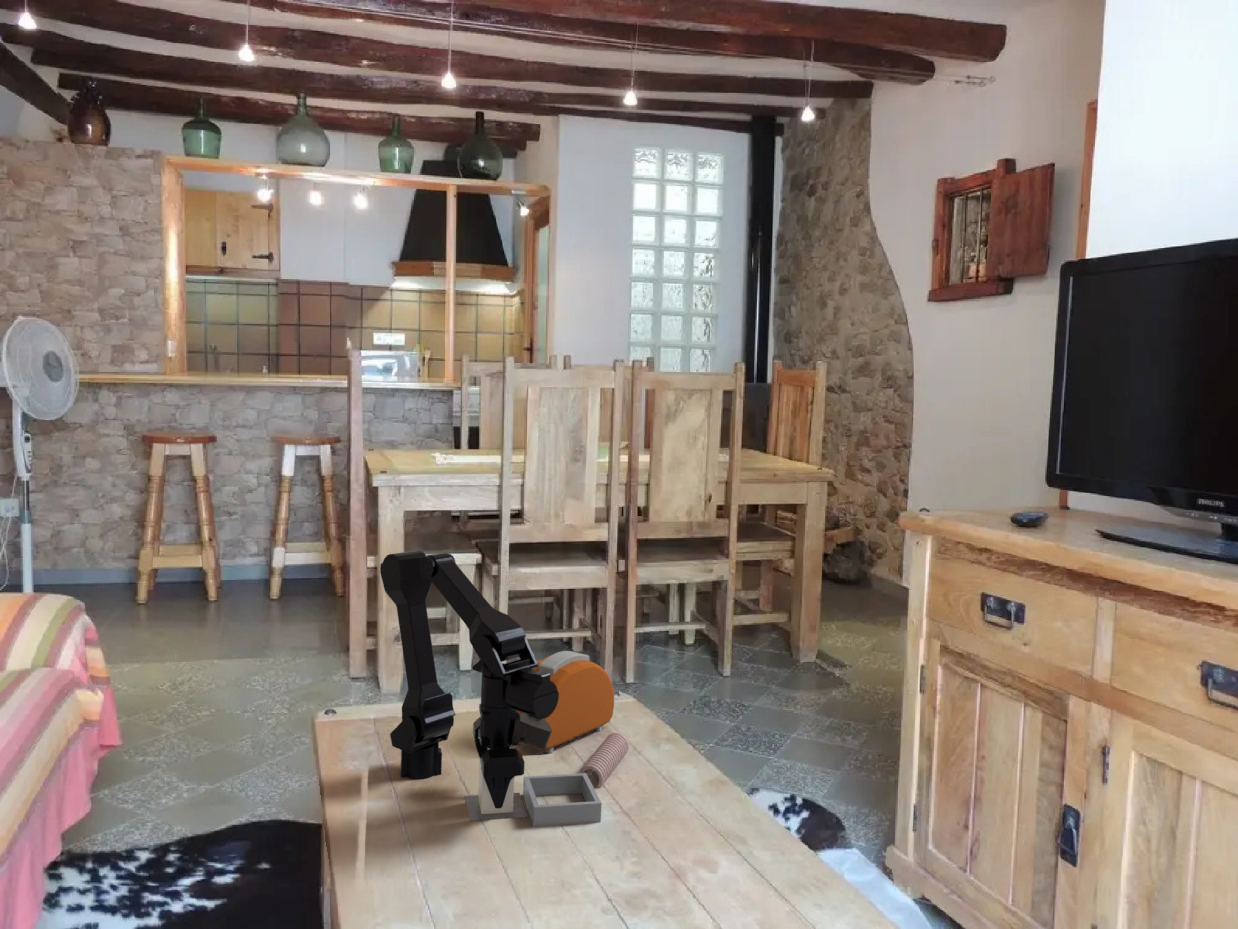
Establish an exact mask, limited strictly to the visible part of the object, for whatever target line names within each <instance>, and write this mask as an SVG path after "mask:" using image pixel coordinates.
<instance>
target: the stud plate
mask: <svg viewBox="0 0 1238 929" xmlns="http://www.w3.org/2000/svg"><path fill="white" fill-rule="evenodd" d="M464 799H465V803H466V810H467V814H468V821H469V822H475V821H477V822H478V821H493V820H507V819H518V818H519V819H522V818H528V814H527V813H526V809H525V806H524V803H523V799H522V796H521V793H520V792H514V797H513V812H507V813H492V814H481V810H480V806H479V801H478V795H477V794H476V795H474V794H473V795H464Z"/></svg>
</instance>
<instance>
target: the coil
mask: <svg viewBox="0 0 1238 929" xmlns="http://www.w3.org/2000/svg"><path fill="white" fill-rule="evenodd" d="M628 751H629V742H628V740H627V738H626V736H624V735H623V734H622V733H620V732H612V733H610V734H608V736H606V738H605V739H604V740H603V741H602V743H601V744H600V745H599V746H598V747H597V749H596V750H595V751H594V753H592V754H591V756H590V757H589V759H588V760H587V761H586V762H585V763H584V764H583V766H582V767H580V769H579V771H578V774H580V773H586V774H587V776H588V778H589V779H590V776H591V775H592V774H593V772H595V773H596V774H597V776H598V783H597V785H596V786H595V787H596V788H600V789H601V788H602V787H603V785H604V784H605V783H606V782H607V780H608V779H609V778H610V777H611V775H612V773H613V772H614V771H615V770H616V768H617V767H618V766H619V764H620V763H621V761H622V760H623V759H624V758H625V756H626V754H627V753H628Z"/></svg>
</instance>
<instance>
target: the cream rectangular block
mask: <svg viewBox="0 0 1238 929" xmlns="http://www.w3.org/2000/svg"><path fill="white" fill-rule="evenodd" d="M478 765H479V768H478V769H479V770H478V773H479V774H478V801H479V806H480V810H481V814H492V813H507V812H513V797H514V793H515V777H514V778H512V779H511V781H510V784H509V787H508V790H507V793H506V796H505V800H504V803H503V806H502V808H495V806H494V804H493V801H492V798H491V795H490V793H489V790H488V787H487V785H486V782H485V779H484V777H483V774H482V770H481V767H482V765H481V759H480V758H479V764H478Z"/></svg>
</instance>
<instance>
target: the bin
mask: <svg viewBox="0 0 1238 929" xmlns="http://www.w3.org/2000/svg"><path fill="white" fill-rule="evenodd" d="M588 777H589V776H587V774H586V773H580V774H579V773H568V774H567V773H566V774H549V775H548V774H546V775H530V776H523V785H522V796H523V798H524V801H525V802H524V803H525V805H526V807H527V811H528V814H529V817H530V820H531V823H532V827H548V826H563V825H564V826H565V825H575V824H591V823H593V824H594V823H601V820H602V800H600V797H599V795H598V793H597V792H596V789H595V787H594V785H593V783H592V781H591V779H590V777H589V778H588ZM570 794H573V795H574V794H582V796H583V799H584V800H585V801H580V802H579V801H577V802H576V801H575V802H566V803H565V802H564V803H563V802H561V803H549V804H539V802H538V798H537V797H539V796H541V797H542V796H552V795H553V796H554V795H557V796H558V795H570Z"/></svg>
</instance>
